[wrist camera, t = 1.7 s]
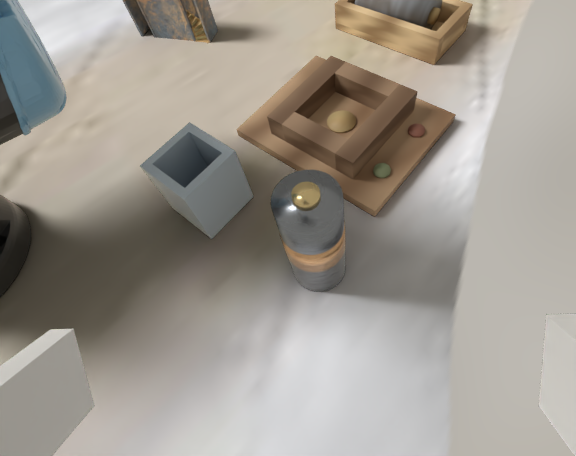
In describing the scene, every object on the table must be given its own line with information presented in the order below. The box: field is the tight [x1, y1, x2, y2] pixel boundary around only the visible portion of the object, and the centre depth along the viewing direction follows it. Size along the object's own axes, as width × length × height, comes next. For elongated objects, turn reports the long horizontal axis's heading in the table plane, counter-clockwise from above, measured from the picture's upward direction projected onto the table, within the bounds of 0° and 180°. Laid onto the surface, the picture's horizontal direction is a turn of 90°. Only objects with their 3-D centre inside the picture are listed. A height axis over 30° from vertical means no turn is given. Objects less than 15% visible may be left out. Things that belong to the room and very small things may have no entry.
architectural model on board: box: [123, 0, 218, 43], centre depth 50 cm, size 11×3×10 cm, turn 71°
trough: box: [335, 0, 473, 65], centre depth 45 cm, size 14×7×5 cm, turn 50°
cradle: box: [237, 56, 455, 217], centre depth 39 cm, size 18×14×4 cm
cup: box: [140, 122, 254, 239], centre depth 35 cm, size 6×6×7 cm
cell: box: [271, 170, 346, 292], centre depth 28 cm, size 5×5×12 cm
